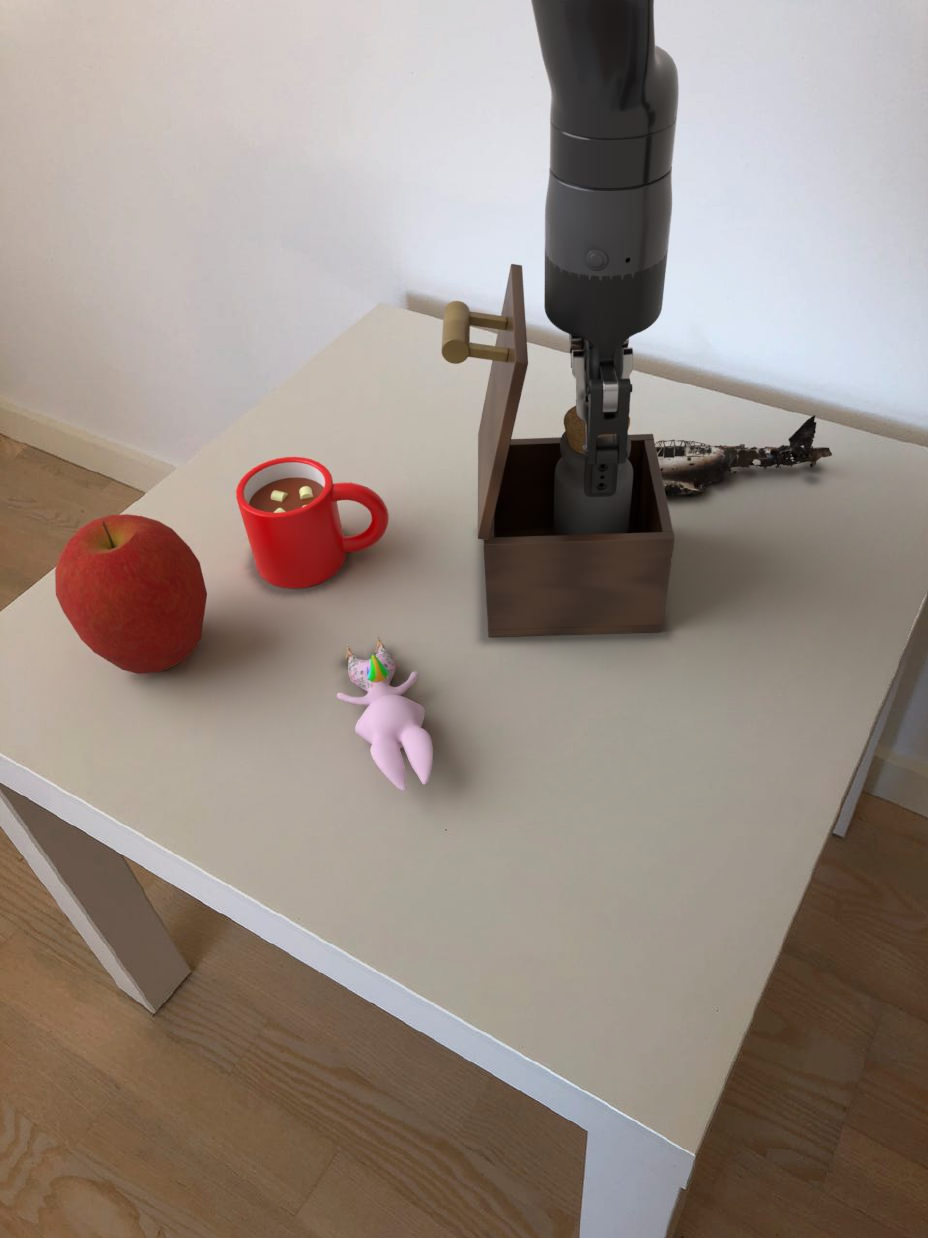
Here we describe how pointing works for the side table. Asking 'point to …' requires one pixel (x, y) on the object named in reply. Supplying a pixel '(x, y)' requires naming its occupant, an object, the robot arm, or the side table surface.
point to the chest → (575, 553)
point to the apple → (132, 592)
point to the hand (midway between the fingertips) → (594, 456)
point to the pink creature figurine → (389, 718)
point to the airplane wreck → (730, 460)
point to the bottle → (569, 497)
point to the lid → (492, 383)
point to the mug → (302, 520)
